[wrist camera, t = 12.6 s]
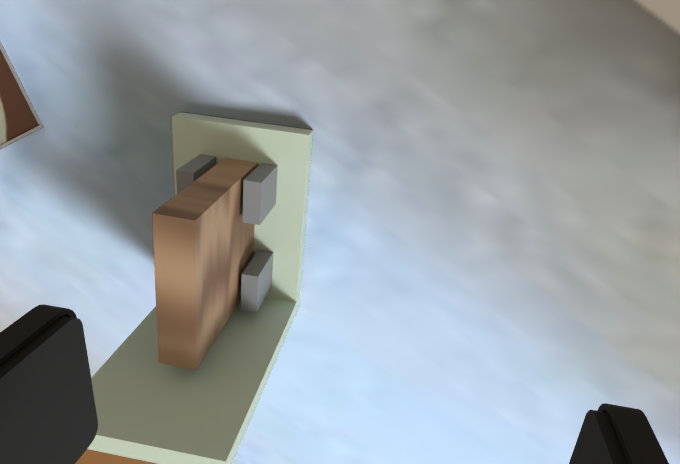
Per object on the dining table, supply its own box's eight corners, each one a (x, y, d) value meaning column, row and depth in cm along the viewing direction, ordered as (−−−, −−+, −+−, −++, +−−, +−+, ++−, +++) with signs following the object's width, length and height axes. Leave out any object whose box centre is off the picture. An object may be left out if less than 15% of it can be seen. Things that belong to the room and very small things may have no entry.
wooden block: (217, 156, 38) (141, 211, 28) (257, 162, 37) (195, 220, 27) (215, 275, 42) (149, 360, 32) (251, 282, 42) (196, 370, 32)
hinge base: (180, 112, 38) (6, 189, 23) (313, 130, 37) (227, 224, 21) (186, 286, 45) (52, 443, 29) (299, 306, 44) (225, 479, 28)
